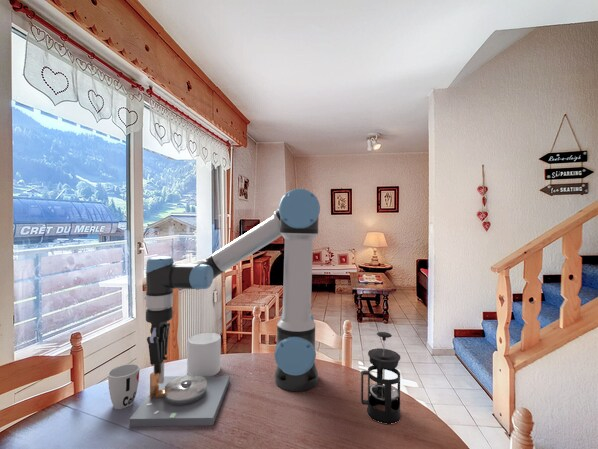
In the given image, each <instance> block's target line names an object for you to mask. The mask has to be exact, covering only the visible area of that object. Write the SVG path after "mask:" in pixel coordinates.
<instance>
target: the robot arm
mask: <svg viewBox="0 0 598 449" xmlns="http://www.w3.org/2000/svg"><path fill="white" fill-rule="evenodd" d="M320 211H321V204H320V201H319V199H318V197H317V196H316V195H315V194H314V193H313V192H312V191H310V190H308V189H306V188H299V187H298V188H294V189H291V190H288V191H287V192H286V193H285V194H284V195H283V196H282V197H281V199H280V201H279V205H278V208H277V209H276V210H275V211H273V213H272V214H273V215H272V216H271V217H268V218H267V219H266V220H264V221H262V222H260V223H259V224H257V225H256V226H254V227H253V228H251V229H250V230H248V231H247V232H245V233H244V234H242V235H240V236H239V237H237V238H235V239H234V240H232V241H231V242H229V243H227V244H226V245H224V246H223V247H222V248H219V249H218V250H216V251H215V252H214V253H213V252H212V254H210V255H208V256H207V257H205V258H203V259H201V260H200V261H196V262H193V263H174V257H172V256H165V255H164V256H154V257H153V256H152V257H149V258H148V259H147V261H146V269H145V276H146V277H145V283H146V286H145V288H146V290H145V292H146V293H145V295H146V296H145V297H144V300H145V307H146V309H145V321H146V322H147V323H149V324H150V325H151V326H150V329H149V330H150V332H149V333H150V336H147V338H146V341H147V345H148V353H149V364H150V365H153V372H159V384H163V382H164V377H165V361H166V360H168V356H167V354H168V345H169V334H170V327H171V322H169V321H171V320H172V319H173V317H174V315H173V314H174V313H173V312H174V307H173V305H174V289H182V290H197V291H198V290H208V289H209V288H210V287H211V285H212V284H213V280H214V279H216V278H217V277H218V276H220V275H222V274H223V273H225V272H226V271H227V270H229V269H230V268H232V267H234V266H236V265H237V264H238V263H240V262H242V261H244V260H245V259H247V258H248V257H249V256H252V255H253V254H255V253H256V252H258V251H259V250H261V249H263V248H264V247H266V246H268V245H270V244H271V243H272V242H275V241H276V240H278V239H279V238H280V237H283V239H284V248H283V250H284V253H283V257H284V258H283V286H282V314H281V315H280V319H279V320H278V321H277V323H276V324H277V326H276V346H275V348H274V360H275V363H276V369H275V371H274V383H275V384H276V386H278V387H279V388H281V389H283V390H285V391H289V392H290V391H291V392H303V391H304V392H305V391H308V390H311V389H312V388H314V387H316V385H318V382H319V372H318V369H317V364H316V362H315V360H316V355H317V353H316V352H317V351H316V322H315V320H314V315H313V314H312V288H313V287H312V285H313V284H312V280H313V278H312V277H313V250H314V249H313V247H314V239H315V238H316V237H317V236H318V235H319V221H320V220H319V218H320V217H319V216H320V213H321V212H320Z"/></svg>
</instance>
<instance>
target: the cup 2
mask: <svg viewBox="0 0 598 449" xmlns="http://www.w3.org/2000/svg"><path fill="white" fill-rule="evenodd" d="M221 345H222V337H221V335H220V333H219V334H218V333H216V332H200V333H196V334H194V335H193V334H192V336H189V338H188V339H187V346H186V347H187V349H186V350H187V351H186V352H187V353H186V354H187V355H186V358H187V359H186V374H187V375H200V376H216V375H217V374H218V373H219V372H220V371H221V362H222V361H221V357H222V356H221V355H222V354H221V353H222V352H221V350H222V348H221Z"/></svg>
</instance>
